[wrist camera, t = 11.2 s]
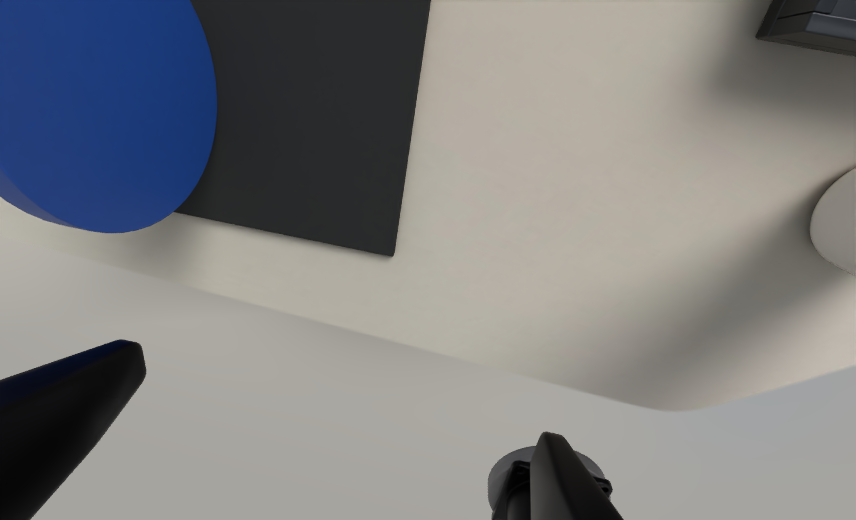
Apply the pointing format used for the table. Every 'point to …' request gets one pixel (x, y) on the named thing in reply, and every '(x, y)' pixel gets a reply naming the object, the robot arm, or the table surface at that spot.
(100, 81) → the plate
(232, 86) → the mat
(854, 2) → the rack
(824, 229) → the drinking glass
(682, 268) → the table surface
